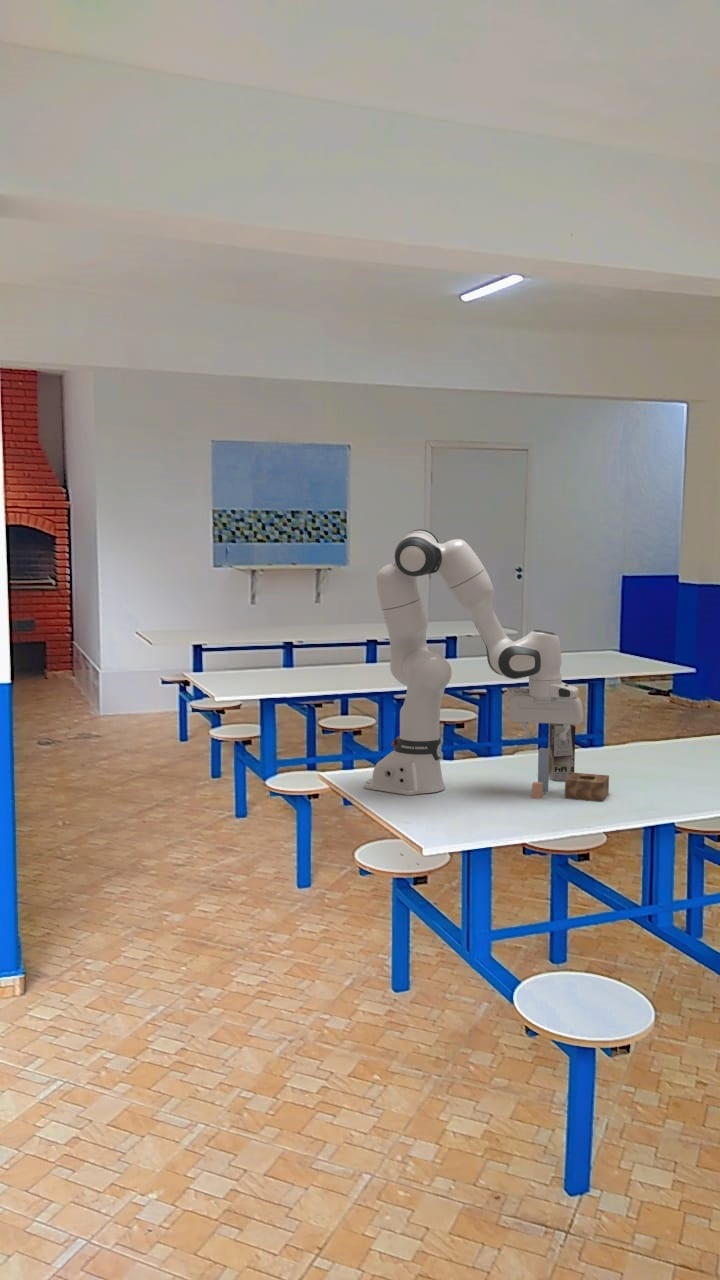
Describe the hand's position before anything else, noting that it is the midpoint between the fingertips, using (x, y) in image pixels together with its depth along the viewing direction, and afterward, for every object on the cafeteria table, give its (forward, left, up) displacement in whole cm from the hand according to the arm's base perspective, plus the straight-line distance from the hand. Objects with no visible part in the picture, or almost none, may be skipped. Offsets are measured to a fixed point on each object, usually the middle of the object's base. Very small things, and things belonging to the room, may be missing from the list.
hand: (545, 739), depth 276 cm
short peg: (0, -7, -15) cm, 17 cm away
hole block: (+12, 0, -15) cm, 19 cm away
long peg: (0, 0, -15) cm, 15 cm away
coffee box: (+1, +20, -15) cm, 25 cm away
